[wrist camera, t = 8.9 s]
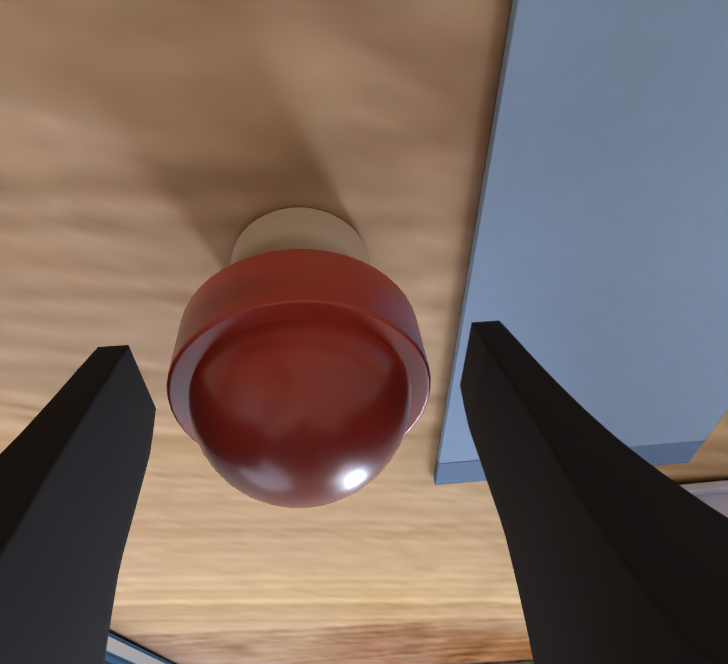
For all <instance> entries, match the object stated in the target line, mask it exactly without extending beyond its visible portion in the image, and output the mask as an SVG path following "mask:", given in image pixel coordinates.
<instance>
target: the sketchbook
mask: <svg viewBox="0 0 728 664" xmlns="http://www.w3.org/2000/svg"><path fill="white" fill-rule="evenodd" d="M104 664H172V663H170V662H168V661H166V660H164V659H162V658H160V657H158V656H156V655H154V654H152V653H150V652H148V651H146V650H144V649H142V648H140V647H138V646H136V645H134V644H132V643H130V642H128V641H126V640H124V639H122V638H120V637H118V636H116V635H114V634H112V633H109V635H108V642H107V649H106V656H105V663H104Z"/></svg>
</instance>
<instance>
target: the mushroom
mask: <svg viewBox="0 0 728 664" xmlns="http://www.w3.org/2000/svg"><path fill="white" fill-rule="evenodd" d="M430 381H431V377H430V371H429V366H428V362H427V358H426V354H425V350H424V347H423V343H422V339H421V335H420V331H419V327H418V323H417V320H416V316H415V314H414V311H413V308H412V306H411V304H410V302H409V301H408V299H407V297H406V296H405V294H404V293H403V292H402V291H401V290H400V288H399V287H398V286H397V285H396V284H395V283H394V282H393V281H392V280H390V279H389V278H388V277H387V276H386V275H384V274H383V273H381V272H380V271H378V270H377V269H376V268H374V267H372V266H370V264H369V259H368V254H367V250H366V248H365V245H364V243H363V241H362V240H361V238H360V236H359V235H358V234H357V233H356V231H355V230H354V229H353V228H352V227H351V226H350V225H348V224H347V223H346V222H344V221H343V220H341V219H340V218H338V217H336V216H334V215H332V214H330V213H327V212H325V211H322V210H318V209H313V208H305V207H293V208H285V209H280V210H276V211H273V212H270V213H268V214H266V215H264V216H262V217H260V218H258V219H257V220H255V221H254V222H252V223H251V224H250V225H249V226H248V227H247V228H246V229H244V231H243V232H242V233H241V234H240V236H239V237H238V239H237V241H236V243H235V245H234V248H233V250H232V255H231V261H230V265H229V266H227V267H225V268H224V269H222V270H221V271H219V272H218V273H216V274H215V275H213V276H212V277H211V278H210V279H208V280H207V281H206V282H205V283H204V284H203V285H202V286H201V287H200V288H199V289H198V290H197V292H196V293H195V294H194V295H193V297H192V298H191V299H190V301H189V303H188V305H187V307H186V308H185V311H184V313H183V316H182V319H181V323H180V327H179V331H178V335H177V339H176V344H175V348H174V352H173V356H172V360H171V364H170V368H169V373H168V379H167V396H168V400H169V404H170V407H171V410H172V412H173V414H174V416H175V418H176V420H177V422H178V423H179V424H180V426H181V427H182V428H183V430H184V431H185V432H186V433H187V434H188V435H189V436H190V437H191V438H192V439H193V440H195V441H196V442H197V443H198V444H199V445H200V447H201V449H202V452H203V454H204V455H205V457H206V458H207V459H208V461H209V462H210V464H211V465H212V466H213V468H214V469H215V470H216V471H217V472H218V473H219V474H220V475H221V476H222V477H223V478H224V479H225V480H226V481H227V482H228V483H229V484H230V485H232V486H233V487H235V488H236V489H238V490H239V491H241V492H242V493H244V494H246V495H248V496H249V497H251V498H254V499H256V500H259V501H262V502H265V503H268V504H271V505H276V506H281V507H289V508H309V507H316V506H322V505H326V504H330V503H333V502H336V501H338V500H340V499H343V498H345V497H347V496H350V495H352V494H353V493H355V492H357V491H358V490H360V489H361V488H363V487H364V486H365V485H367V484H368V483H369V482H371V481H372V480H373V479H374V478H375V477H376V476H377V475H378V474H379V473H380V472H381V471H382V470H383V469H384V468H385V466H386V465H387V464H388V463H389V462H390V460H391V458H392V457H393V455H394V454H395V452H396V450H397V449H398V447H399V445H400V443H401V440H402V438H403V436H404V435H405V434H406V433H407V432H408V431H409V430H410V429H411V428H412V427H413V425H414V424H415V423H416V422H417V420H418V419H419V417H420V416H421V414H422V412H423V410H424V408H425V406H426V403H427V401H428V397H429V392H430Z"/></svg>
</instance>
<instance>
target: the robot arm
mask: <svg viewBox="0 0 728 664" xmlns="http://www.w3.org/2000/svg"><path fill="white" fill-rule="evenodd" d="M460 389H461V394H462V399H463V404H464V409H465V413H466V418H467V422H468V427H469V430H470V433H471V436H472V439H473V442H474V445H475V448H476V451H477V453H478V456H479V459H480V462H481V465H482V468H483V471H484V474H485V477H486V479H487V482H488V485H489V488H490V491H491V494H492V497H493V499H494V502H495V505H496V508H497V511H498V514H499V517H500V520H501V523H502V526H503V530H504V533H505V536H506V540H507V544H508V548H509V552H510V557H511V561H512V565H513V569H514V573H515V577H516V581H517V586H518V590H519V595H520V599H521V604H522V608H523V613H524V617H525V622H526V626H527V631H528V636H529V641H530V646H531V651H532V656H533V661H534V664H728V480H724V481H714V482H703V483H692V484H681V485H678V484H677V483H675V482H674V481H673V480H671V479H670V478H668V477H667V476H666V475H664V474H663V473H662V472H660V471H659V470H657V469H656V468H655V467H653V466H652V465H651V464H649V463H648V462H647V461H646V460H644V459H643V458H642V457H641V456H639V455H638V454H637V453H635V452H634V451H633V450H632V449H630V448H629V447H628V446H627V445H625V444H624V443H623V442H622V441H620V440H619V439H618V438H617V437H616V436H614V435H613V434H612V433H611V432H610V431H609V430H607V429H606V428H605V427H604V426H603V425H602V424H601V423H600V422H598V421H597V420H596V419H595V418H594V417H593V416H592V415H591V414H590V413H588V412H587V411H586V410H585V409H584V408H583V407H582V406H581V405H580V404H579V403H578V402H577V401H576V400H575V399H574V398H573V397H572V396H571V395H570V394H569V393H568V392H567V391H566V390H565V389H564V388H563V387H562V386H561V385H560V384H559V383H558V382H557V381H556V380H555V379H554V378H553V377H552V376H551V375H550V374H549V373H548V372H547V371H546V370H545V369H544V368H543V367H542V366H541V365H540V364H539V363H538V362H537V361H536V359H535V358H534V357H533V356H532V355H531V354H530V353H529V352H528V351H527V350H526V349H525V348H524V347H523V345H522V344H521V343H520V342H519V341H518V340H517V339H516V338H515V337H514V336H513V334H512V333H511V332H510V331H509V330H508V329H507V328H506V327H505V326H504V325H503V324H502V323H501V322H500V321H484V322H472V323H471V328H470V334H469V339H468V345H467V350H466V355H465V361H464V366H463V372H462V377H461V382H460ZM155 411H156V408H155V405H154V403H153V401H152V399H151V396H150V394H149V392H148V389H147V387H146V385H145V382H144V380H143V378H142V375H141V373H140V371H139V369H138V366H137V364H136V362H135V359H134V357H133V355H132V352H131V350H130V348H129V345H123V346H107V347H98V348H97V349H96V350H95V351H94V352H93V353H92V354H91V355H90V357H89V358H88V359H87V360H86V361H85V362H84V363H83V364H82V366H81V367H80V368H79V369H78V370H77V371H76V372H75V373H74V375H73V376H72V377H71V378H70V379H69V380H68V381H67V383H66V384H65V385H64V386H63V387H62V388H61V389H60V390H59V392H58V393H57V394H56V395H55V396H54V397H53V398H52V400H51V401H50V402H49V403H48V404H47V405H46V406H45V407H44V408H43V410H42V411H41V412H40V413H39V414H38V415H37V416H36V417H35V418H34V419H33V420H32V422H31V423H30V424H29V425H28V426H27V427H26V428H25V429H24V430H23V431H22V432H21V434H20V435H19V436H18V437H17V438H16V439H15V440H14V441H13V442H12V443H11V444H10V445H9V446H8V447H7V448H6V449H5V450H4V451H3V452H2V453H1V454H0V664H104V663H105V656H106V649H107V642H108V635H109V627H110V621H111V615H112V609H113V603H114V597H115V590H116V584H117V578H118V573H119V569H120V564H121V560H122V556H123V552H124V548H125V544H126V541H127V537H128V533H129V530H130V526H131V522H132V519H133V515H134V511H135V508H136V504H137V500H138V497H139V493H140V489H141V486H142V482H143V478H144V474H145V471H146V467H147V463H148V459H149V455H150V450H151V443H152V436H153V428H154V420H155Z"/></svg>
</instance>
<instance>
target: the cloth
mask: <svg viewBox="0 0 728 664" xmlns="http://www.w3.org/2000/svg"><path fill="white" fill-rule="evenodd" d="M484 321H500V322H501V323H502V324H503V325H504V326H505V327H506V328H507V329H508V330H509V331H510V332H511V333H512V334H513V336H514V337H515V338H516V339H517V340H518V341H519V342H520V343H521V344H522V345H523V347H524V348H525V349H526V350H527V351H528V352H529V353H530V354H531V355H532V356H533V357H534V358H535V359H536V361H537V362H538V363H539V364H540V365H541V366H542V367H543V368H544V369H545V370H546V371H547V372H548V373H549V374H550V375H551V376H552V377H553V378H554V379H555V380H556V381H557V382H558V383H559V384H560V385H561V386H562V387H563V388H564V389H565V390H566V391H567V392H568V393H569V394H570V395H571V396H572V397H573V398H574V399H575V400H576V401H577V402H578V403H579V404H580V405H581V406H582V407H583V408H584V409H585V410H586V411H587V412H588V413H590V414H591V415H592V416H593V417H594V418H595V419H596V420H597V421H598V422H600V423H601V424H602V425H603V426H604V427H605V428H606V429H607V430H609V431H610V432H611V433H612V434H613V435H614V436H616V437H617V438H618V439H619V440H620V441H622V442H623V443H624V444H625V445H627V446H628V447H629V448H630V449H632V450H633V451H634V452H635V453H637V454H638V455H639V456H641V457H642V458H643V459H644V460H646V461H647V462H648V463H649V464H651V465H652V466H654V465H665V464H676V463H687V462H689V461H690V460H691V458H692V457H693V456H694V454H695V453H696V452H697V450H698V449H699V448H700V446H701V445H702V444H703V442H704V441H705V439H706V438H707V436H708V435H709V434H710V432H711V431H712V430H713V428H714V427H715V426H716V424H717V423H718V422H719V420H720V419H721V418H722V416H723V415H724V414H725V412H726V411H727V410H728V0H513V2H512V8H511V14H510V20H509V27H508V33H507V39H506V45H505V51H504V57H503V63H502V69H501V75H500V81H499V87H498V93H497V99H496V105H495V111H494V117H493V123H492V129H491V135H490V141H489V148H488V154H487V160H486V166H485V172H484V178H483V184H482V190H481V196H480V202H479V208H478V214H477V220H476V226H475V232H474V238H473V244H472V250H471V256H470V262H469V269H468V275H467V281H466V287H465V293H464V299H463V305H462V311H461V317H460V323H459V329H458V335H457V341H456V347H455V353H454V359H453V365H452V371H451V377H450V383H449V390H448V396H447V402H446V408H445V414H444V420H443V426H442V432H441V438H440V444H439V450H438V456H437V462H436V468H435V474H434V483H435V485H442V484H453V483H464V482H476V481H487V479H486V477H485V474H484V471H483V468H482V465H481V462H480V459H479V456H478V453H477V451H476V448H475V445H474V442H473V439H472V436H471V433H470V430H469V427H468V422H467V418H466V413H465V409H464V404H463V399H462V394H461V389H460V382H461V377H462V372H463V366H464V361H465V355H466V350H467V345H468V339H469V334H470V328H471V323H472V322H484Z"/></svg>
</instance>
